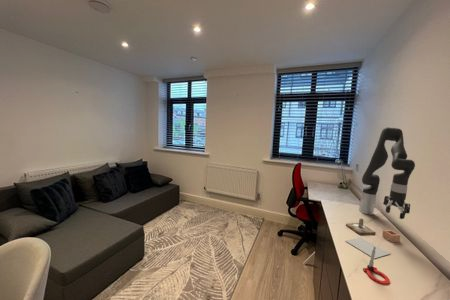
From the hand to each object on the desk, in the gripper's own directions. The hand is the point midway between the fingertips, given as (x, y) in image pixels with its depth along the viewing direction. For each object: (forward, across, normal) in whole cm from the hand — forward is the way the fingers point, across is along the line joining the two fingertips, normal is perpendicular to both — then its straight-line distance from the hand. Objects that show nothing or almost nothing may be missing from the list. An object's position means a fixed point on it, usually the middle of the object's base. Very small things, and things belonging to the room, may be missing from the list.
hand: (394, 215), depth 123 cm
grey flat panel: (+16, -10, +19) cm, 27 cm away
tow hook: (+16, -28, +40) cm, 51 cm away
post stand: (+16, +12, +11) cm, 23 cm away
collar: (+16, 0, 0) cm, 16 cm away
